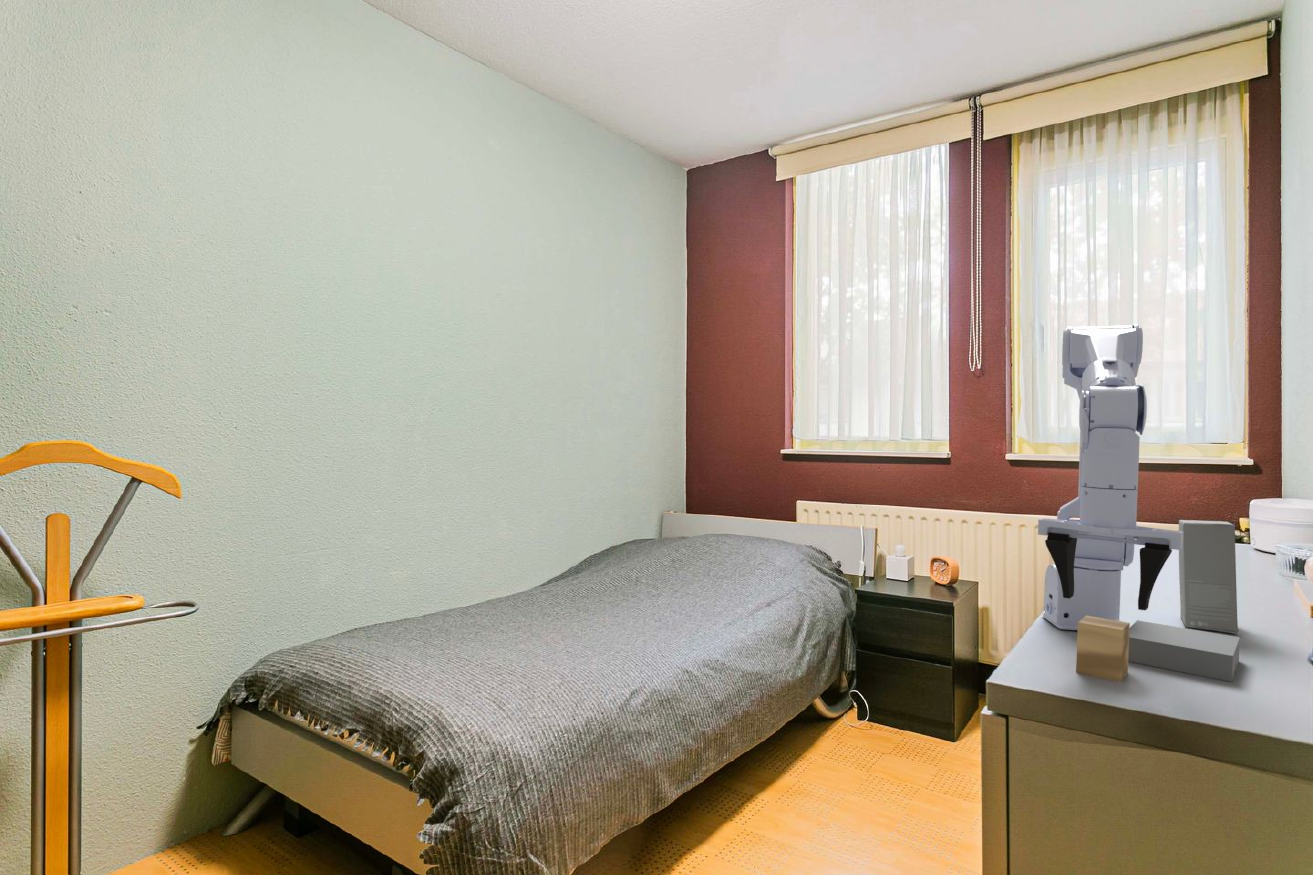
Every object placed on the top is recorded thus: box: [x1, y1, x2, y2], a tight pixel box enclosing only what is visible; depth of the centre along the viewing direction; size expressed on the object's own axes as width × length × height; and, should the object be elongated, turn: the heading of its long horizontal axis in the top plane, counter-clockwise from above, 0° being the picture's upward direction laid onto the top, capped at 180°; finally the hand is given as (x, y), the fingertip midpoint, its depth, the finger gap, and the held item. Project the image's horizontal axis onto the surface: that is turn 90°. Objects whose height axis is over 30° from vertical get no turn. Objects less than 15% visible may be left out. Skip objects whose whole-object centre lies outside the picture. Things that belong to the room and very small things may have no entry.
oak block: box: [1075, 616, 1131, 683], centre depth 87 cm, size 4×4×6 cm
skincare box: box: [1178, 519, 1239, 635], centre depth 111 cm, size 8×7×16 cm
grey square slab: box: [1128, 619, 1241, 682], centre depth 93 cm, size 11×11×3 cm
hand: (1104, 602), depth 87 cm, fingers open, 7 cm apart
